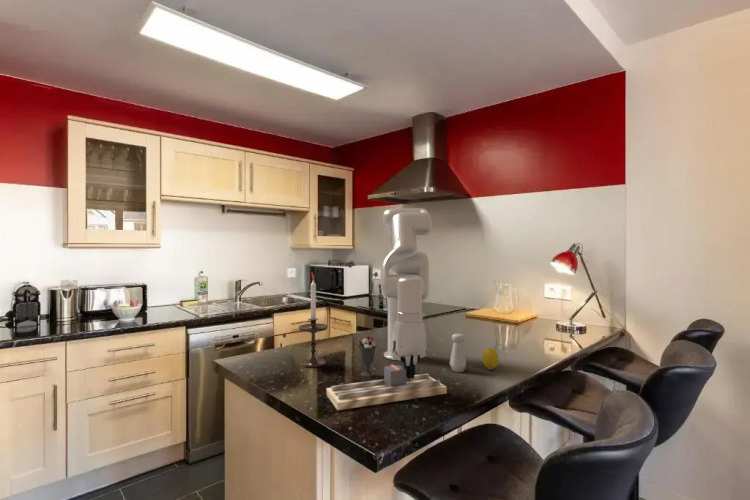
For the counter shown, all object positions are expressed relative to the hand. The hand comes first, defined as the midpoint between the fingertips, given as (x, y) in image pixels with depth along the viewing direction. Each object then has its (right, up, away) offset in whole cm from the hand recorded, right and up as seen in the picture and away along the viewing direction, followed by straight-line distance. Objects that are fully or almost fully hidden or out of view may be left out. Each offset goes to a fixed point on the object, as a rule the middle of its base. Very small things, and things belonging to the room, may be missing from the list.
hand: (409, 377), depth 118 cm
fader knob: (-4, -2, -2) cm, 5 cm away
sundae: (-13, -4, +15) cm, 21 cm away
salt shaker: (+19, -4, +21) cm, 28 cm away
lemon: (+31, -4, +21) cm, 38 cm away
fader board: (-7, -4, -3) cm, 9 cm away
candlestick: (-34, -4, +28) cm, 44 cm away
